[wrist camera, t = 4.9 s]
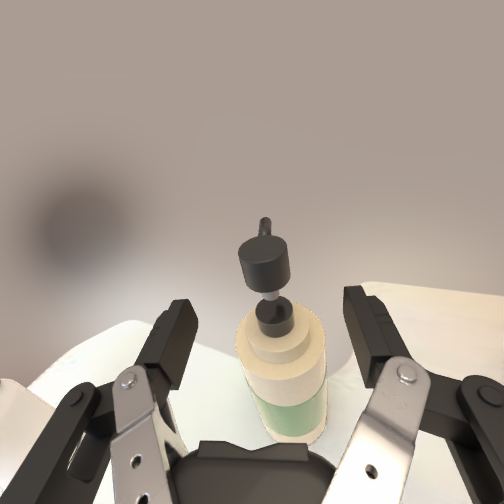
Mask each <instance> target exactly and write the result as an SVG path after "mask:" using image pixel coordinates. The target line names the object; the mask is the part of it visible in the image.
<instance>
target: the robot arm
mask: <svg viewBox="0 0 504 504" xmlns="http://www.w3.org/2000/svg"><path fill="white" fill-rule="evenodd" d="M343 314H344V318H345V323H346V326H347V329H348V332H349V336H350V339H351V342H352V345H353V349H354V352H355V355H356V358H357V362H358V365H359V368H360V371H361V375H362V378H363V381H364V384H365V388H373V389H374V390H373V393H372V395H371V397H370V400H369V402H368V404H367V406H366V408H365V410H364V411H363V412H362V414H361V416H360V418H359V420H358V422H357V424H356V427H355V429H354V431H353V434H352V436H351V438H350V440H349V443H348V445H347V447H346V449H345V452H344V454H343V456H342V458H341V461H340V463H339V465H338V468H336V467H335V466H333V465H332V464H331V463H330V462H329V461H327V460H326V459H325V458H323V457H322V456H320V455H318V454H316V453H314V452H311V451H308V445H307V443H283V442H279V443H276V444H273V445H269V446H266V447H263V448H260V449H256V450H253V451H250V450H247V449H244V448H242V447H239V446H236V445H234V444H231V443H229V442H226V441H200V443H199V448H198V449H197V450H195V451H192V452H190V453H188V451H187V448H186V446H185V444H184V443H183V441H182V439H181V436H180V434H179V431H178V427H177V424H176V421H175V418H174V415H173V411H172V408H171V405H170V402H169V399H168V398H167V397H168V394H169V391H170V390H179V387H180V384H181V380H182V377H183V374H184V371H185V368H186V364H187V361H188V358H189V355H190V352H191V348H192V345H193V342H194V339H195V335H196V333H197V329H198V318H197V316H196V313H195V311H194V309H193V307H192V305H191V303H190V301H189V300H188V299H180V300H173V301H172V303H171V305H170V307H169V309H168V310H165V311H164V312H163V313H162V314H161V315H160V316H159V317H158V318H157V320H156V322H155V324H154V326H153V329H152V330H151V332H150V334H149V336H148V338H147V340H146V342H145V344H144V346H143V348H142V350H141V352H140V354H139V356H138V358H137V360H136V362H135V364H134V365H133V366H131V367H129V368H127V369H125V370H124V371H123V372H122V373H121V374H120V375H119V376H118V377H117V378H116V380H115V381H113V382H110V383H107V384H104V385H102V386H99V387H95V386H94V385H93V384H92V383H90V382H84V383H81V384H79V385H77V386H75V387H74V388H72V389H71V390H70V391H69V392H68V393H67V394H66V395H65V396H64V398H63V399H62V400H61V402H60V404H59V405H58V407H57V408H56V410H55V412H54V413H53V415H52V416H51V418H50V419H49V421H48V423H47V424H46V426H45V427H44V429H43V431H42V432H41V434H40V435H39V437H38V439H37V440H36V442H35V443H34V445H33V446H32V448H31V450H30V451H29V453H28V454H27V456H26V458H25V459H24V461H23V462H22V464H21V466H20V467H19V469H18V470H17V472H16V473H15V475H14V477H13V478H12V480H11V481H10V483H9V485H8V486H7V488H6V489H5V491H4V492H3V494H2V496H1V497H0V504H93V501H94V499H95V496H96V494H97V491H98V489H99V486H100V484H101V481H102V478H103V476H104V473H105V471H106V468H107V466H108V463H109V461H110V458H111V463H112V475H113V488H114V500H115V504H400V501H401V498H402V494H403V491H404V487H405V483H406V480H407V476H408V472H409V469H410V465H411V462H412V458H413V454H414V450H415V440H416V436H417V433H418V429H419V430H421V431H424V432H427V433H430V434H433V435H436V436H439V437H442V438H444V439H445V440H446V443H447V445H448V447H449V449H450V452H451V454H452V456H453V459H454V461H455V463H456V466H457V468H458V470H459V473H460V475H461V477H462V479H463V482H464V484H465V486H466V489H467V491H468V493H469V496H470V498H471V500H472V503H473V504H504V386H503V385H502V384H500V383H498V382H497V381H495V380H493V379H490V378H488V377H484V376H480V375H471V376H467V377H465V378H464V379H463V381H460V380H456V379H452V378H448V377H445V376H441V375H437V374H434V373H432V372H429V371H428V370H426V369H424V368H423V367H422V366H421V365H420V364H418V363H417V362H416V361H414V359H413V358H412V357H411V355H410V353H409V351H408V350H407V348H406V346H405V344H404V342H403V340H402V338H401V336H400V334H399V332H398V330H397V328H396V326H395V324H394V323H393V320H392V318H391V316H390V315H389V312H388V311H387V309H386V307H385V305H384V303H383V302H382V301H380V300H379V299H378V298H377V297H376V296H366V294H365V292H364V290H363V287H362V286H361V285H359V286H347V287H344V297H343ZM83 433H86V434H85V436H84V438H83V440H82V442H81V444H80V446H79V448H78V450H77V453H76V455H75V457H74V459H73V461H72V463H71V465H70V467H69V469H68V471H67V468H68V463H69V460H70V458H71V456H72V454H73V452H74V450H75V448H76V446H77V444H78V442H79V440H80V439H81V437H82V435H83Z"/></svg>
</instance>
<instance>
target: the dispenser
mask: <svg viewBox="0 0 504 504" xmlns="http://www.w3.org/2000/svg"><path fill="white" fill-rule="evenodd" d="M235 348H236V352H237V355H238V358H239V360H240V363H241V366H242V368H243V371H244V374H245V377H246V381H247V383H248V386H249V388H250V391H251V394H252V396H253V399H254V402H255V404H256V407H257V410H258V412H259V415H260V417H261V419H262V422H263V424H264V427H265V429H266V430H267V432H268V433H269V435H270V436H271V437H272V438H273V439H274V440H275V441H277V442H278V443H279V442H283V443H307V445H310V444H312V443H313V442H314V441H316V440H317V439H318V438H319V436H320V435H321V433H322V432H323V430H324V427H325V424H326V419H327V366H326V339H325V332H324V328H323V326H322V324H321V322H320V320H319V319H318V318H317V317H316V315H315V314H314V313H313V312H311V311H310V310H309V309H307V308H305V307H303V306H301V305H299V304H297V303H295V302H293V301H290V300H288V299H286V298H285V297H282V296H279V297H278V298H277V299H275V300H272V301H268V300H265V299H263V300H261V301H260V302H259V303H258V305H257V306H256V307H255V308H254V309H253V310H252V311H251V312H250V313H249V314H248V315H247V316H246V317H245V318H244V319H243V320H242V322H241V323H240V325H239V327H238V330H237V333H236V338H235Z"/></svg>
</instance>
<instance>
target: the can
mask: <svg viewBox="0 0 504 504" xmlns="http://www.w3.org/2000/svg"><path fill="white" fill-rule="evenodd" d="M55 410H56V409H55V408H54V407H52V406H51V405H49V404H48V403H47V402H45V401H44V400H42V399H41V398H39V397H38V396H36V395H35V394H34V393H32V392H31V391H29V390H28V389H26V388H25V387H23V386H22V385H20V384H19V383H17V382H16V381H14V380H11V379H0V488H2V489H6V488H7V486H8V485H9V483H10V481H11V480H12V478H13V477H14V475H15V473H16V472H17V470H18V469H19V467H20V466H21V464H22V462H23V461H24V459H25V458H26V456H27V454H28V453H29V451H30V450H31V448H32V446H33V445H34V443H35V442H36V440H37V439H38V437H39V435H40V434H41V432H42V431H43V429H44V427H45V426H46V424H47V423H48V421H49V419H50V418H51V416H52V415H53V413H54V412H55ZM77 446H78V444H77ZM77 446H76V448H77ZM76 448H75V450H74V452H73V454H72V456H71V458H70V460H71V459H72V457H73V455H74V453H75V451H76ZM70 460H69V462H70Z"/></svg>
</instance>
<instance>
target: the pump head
mask: <svg viewBox="0 0 504 504" xmlns="http://www.w3.org/2000/svg"><path fill="white" fill-rule="evenodd" d="M238 256H239V259H240V263H241V267H242V271H243V274H244V278H245V282H246V284H247V286H248V287H249V288H250V289H251V290H253V291H255V292H260V293H262V295H263V298H264V299H265V300H268V301H272V300H275V299H277V298H278V297H279V289H281V288H283V287H284V286H285V285H286V284H287V283H288V281H289V279H290V267H289V259H288V251H287V244H286V242H285V241H284V240H283V239H282V238H280V237H277V236H272V235H271V220H270V219H269V218H267V217H264V218H262V219H261V220H260V225H259V234H258V237H254V238H252V239H249V240H248V241H246V242H244V243H243V244H242V245H241V247H240V248H239V251H238Z"/></svg>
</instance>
